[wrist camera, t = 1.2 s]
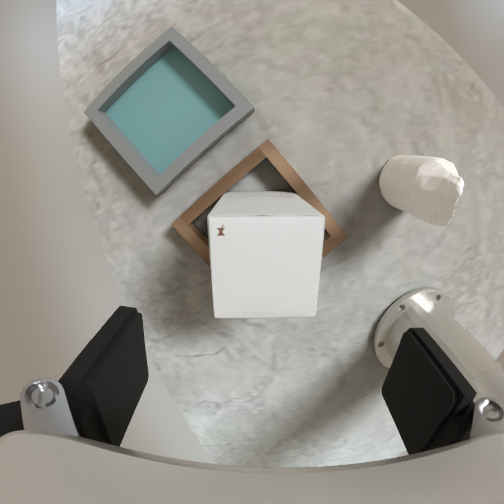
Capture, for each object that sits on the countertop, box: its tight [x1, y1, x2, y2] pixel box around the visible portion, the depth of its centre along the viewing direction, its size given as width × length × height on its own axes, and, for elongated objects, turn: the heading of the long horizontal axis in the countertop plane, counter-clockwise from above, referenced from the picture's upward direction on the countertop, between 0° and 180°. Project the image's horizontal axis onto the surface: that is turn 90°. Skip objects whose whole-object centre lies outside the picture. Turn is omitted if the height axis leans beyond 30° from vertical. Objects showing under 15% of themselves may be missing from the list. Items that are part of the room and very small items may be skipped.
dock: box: [84, 27, 254, 195], centre depth 26 cm, size 12×12×2 cm
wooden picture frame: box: [171, 140, 347, 266], centre depth 30 cm, size 12×12×2 cm
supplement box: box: [207, 191, 325, 318], centre depth 25 cm, size 7×7×13 cm
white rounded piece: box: [379, 156, 464, 226], centre depth 24 cm, size 6×12×6 cm
